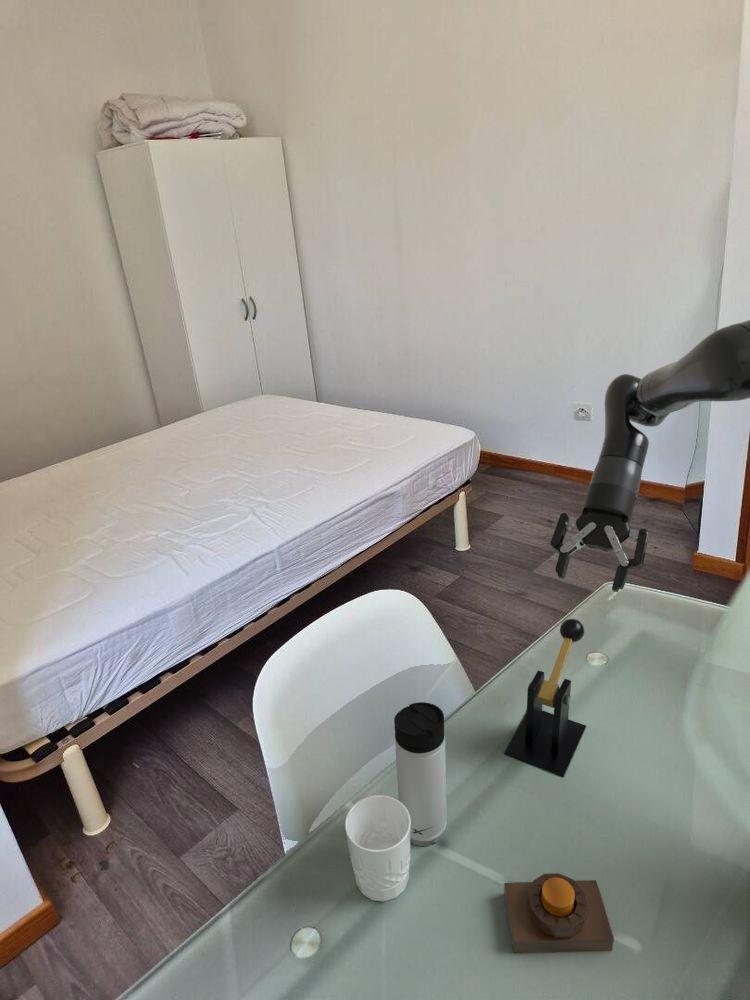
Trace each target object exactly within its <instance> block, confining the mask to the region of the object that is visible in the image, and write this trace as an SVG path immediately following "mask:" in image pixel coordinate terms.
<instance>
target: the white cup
mask: <svg viewBox="0 0 750 1000" xmlns="http://www.w3.org/2000/svg"><path fill="white" fill-rule="evenodd" d="M344 829H345V835H346V840H347V846H348V853H349V856H350V861H351V862H350V863H351V866H352V869H353V873H354V878H355V884H356V886H357V888H358V889H359V891H360V892H361V895H363V896H365V897H367V898H368V899H370V900H371V901H376V902H382V903H383V902H384V903H385V902H388V901H390V900H394V899H396V898H398V897H399V896H400V895H401V894H402V893H403V892H404V891H405V890H406V888H407V885H408V882H409V880H410V863H411V844H412V843H411V819H410V815H409V812H408V810H407V809H406V807H405V806H404V805H403V804H402V803H401V802H400V801H399V799H396V798H395V797H392V796H390V795H385V794H375V795H370V796H366V797H363V798H361V799H360V800H358V801H357V802H355V803H354V804H353V805H352V806H351V807H350V808H349V810H348V811H347V814H346V817H345V821H344Z"/></svg>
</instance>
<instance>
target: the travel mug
mask: <svg viewBox="0 0 750 1000" xmlns="http://www.w3.org/2000/svg"><path fill="white" fill-rule="evenodd" d="M393 721H394V722H393V723H394V746H395V747H394V748H395V762H396V764H395V765H396V778H397V780H396V781H397V794H398V796H397V797H398V801H400V802H401V803H402V804H403V805H404V806H405V807H406V809H407V810H408V812H409V815H410V819H411V844H412V845H415V846H419V847H430V846H433V845H436V842H435V841H437V840H438V839H440V838H441V837H442V836H443V835H444V833H445V831H446V829H447V824H448V818H447V817H448V816H447V815H448V813H447V769H446V768H447V767H446V766H447V765H446V764H447V763H446V762H447V761H446V733H445V714H444V712H443V710H442V709H441V708H440V707H439V706H438V705H436V704H434V703H431V702H425V701H424V702H422V701H421V702H413V703H410V704H409V705H408V706H405V707H403V708H401V709H400V710H399V711H398V712H396V714H395V715H394V719H393Z"/></svg>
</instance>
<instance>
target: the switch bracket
mask: <svg viewBox="0 0 750 1000" xmlns="http://www.w3.org/2000/svg"><path fill="white" fill-rule="evenodd" d="M544 680H545V672H544V671H543V670H537V671H536V673H535V675H534V676H533V678H532V680H531V681H530V682H529V684H528V685H527V694H526V695H527V696H526V713H525V715H524V717H523V718H522V719H521V722H520V724H519V725H518V727H517V729H516V731H515V732H514V734H513V736H512V738H511V739H510V742H509V743H508V745H507V747H506V748H505V750H504V752H503V754H504V755H505V756H507V757H510V758H513V759H515V760H518V761H521V762H523V763H526V764H528V765H531V766H533V767H536V768H538V769H541V770H544V771H547V772H548V773H551V774H554V775H556V776H559V777H562V778H564V777H565V775H566V773H567V771H568V769H569V767H570V765H571V762H572V760H573V758H574V756H575V753H576V751H577V749H578V747H579V744H580V742H581V740H582V738H583V735H584V734H585V731H586V729H587V725H586V724H583V723H581V722H577V721H575V720H571V719H569V714H570V713H569V712H570V703H571V699H572V696H571V690H572V680H571V679H567V678H563V681H562V683H561V685H560V686H559V690H558V692H557V694H556V696H555V703H554V708H553V713H552V712H549V711H545V710H543V704H540V703H539V699H538V694H539V692H540V689H541V686H542V684H543V681H544Z"/></svg>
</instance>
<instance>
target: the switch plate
mask: <svg viewBox="0 0 750 1000" xmlns="http://www.w3.org/2000/svg"><path fill="white" fill-rule="evenodd" d="M550 878H561V879H564V880H566V881H567V882H568V883H569V884H570V885H571V886H572V888H573V890H574V893H575V899H574V908H573V910H572V912H571V913H570V914H569V915H567V916H564V917H557V916H554V915H552V914H550V913H549V912H548V911H547V910H546V909H545V908H544V906H543V904H542V900H541V897H542V887H543V884H544V883H545V881H546V880H548V879H550ZM503 885H504V886H503V897H504V903H505V909H506V916H507V921H508V928H509V935H510V940H511V946H512V951H513V954H539V953H542V954H544V953H545V954H546V953H578V952H579V953H580V952H612V951H613V947H614V940H615V938H614V934H613V931H612V928H611V924H610V921H609V918H608V915H607V911H606V907H605V904H604V901H603V898H602V894H601V891H600V887H599V884H598V881H597V879H587V880H574V879H573V878H571V877H569V876H566V875H563V874H562V873H560V872H559V873H557V872H556V873H554V872H553V873H551V872H550V873H543V874H541V875H539V876H538V877H537V878H535V879H534V880H533V881H521V882H518V881H517V882H504V883H503Z"/></svg>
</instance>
